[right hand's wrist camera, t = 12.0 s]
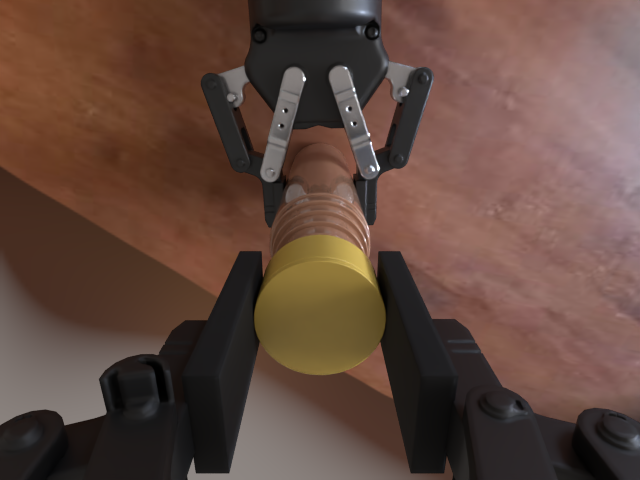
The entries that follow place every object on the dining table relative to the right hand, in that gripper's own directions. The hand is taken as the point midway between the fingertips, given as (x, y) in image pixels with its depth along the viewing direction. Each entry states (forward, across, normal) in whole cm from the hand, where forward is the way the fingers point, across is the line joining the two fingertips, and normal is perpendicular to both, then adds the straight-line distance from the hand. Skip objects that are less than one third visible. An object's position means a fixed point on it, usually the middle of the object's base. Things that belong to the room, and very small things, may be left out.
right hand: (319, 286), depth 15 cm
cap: (-2, 0, 0) cm, 2 cm away
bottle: (+20, 0, 0) cm, 20 cm away
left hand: (+13, 0, -3) cm, 14 cm away
